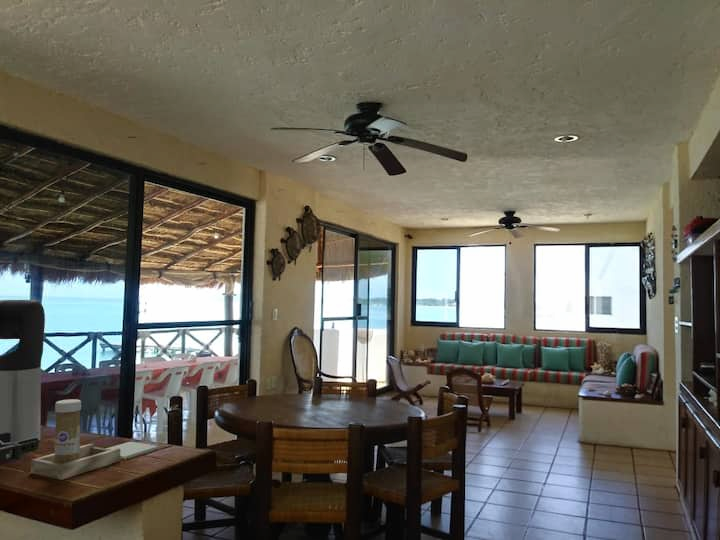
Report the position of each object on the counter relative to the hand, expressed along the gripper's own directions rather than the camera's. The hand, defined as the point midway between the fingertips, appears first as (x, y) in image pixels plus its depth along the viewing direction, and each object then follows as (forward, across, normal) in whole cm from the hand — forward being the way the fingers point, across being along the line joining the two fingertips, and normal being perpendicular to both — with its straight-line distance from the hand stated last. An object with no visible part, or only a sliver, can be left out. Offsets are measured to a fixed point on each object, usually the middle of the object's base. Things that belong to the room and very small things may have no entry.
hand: (22, 440), depth 104 cm
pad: (+23, 0, +8) cm, 24 cm away
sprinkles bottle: (+9, 0, +8) cm, 12 cm away
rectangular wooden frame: (+11, 0, +8) cm, 13 cm away
